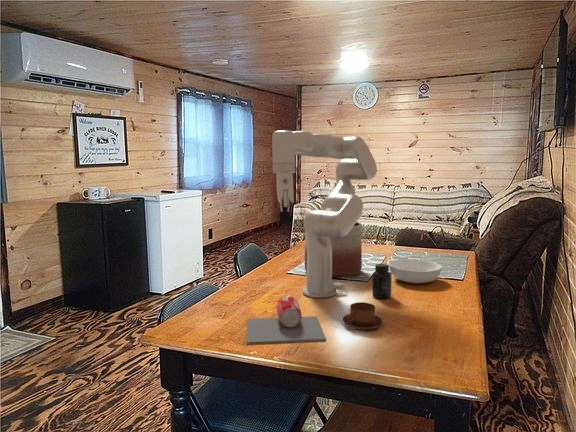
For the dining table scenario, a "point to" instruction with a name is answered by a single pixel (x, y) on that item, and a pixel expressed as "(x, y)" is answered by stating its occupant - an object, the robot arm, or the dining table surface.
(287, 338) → the mat
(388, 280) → the supplement bottle
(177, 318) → the dining table surface
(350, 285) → the dining table surface
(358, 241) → the planter
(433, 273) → the serving bowl
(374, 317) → the cup and saucer
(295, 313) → the soda can
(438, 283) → the dining table surface
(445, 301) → the dining table surface
